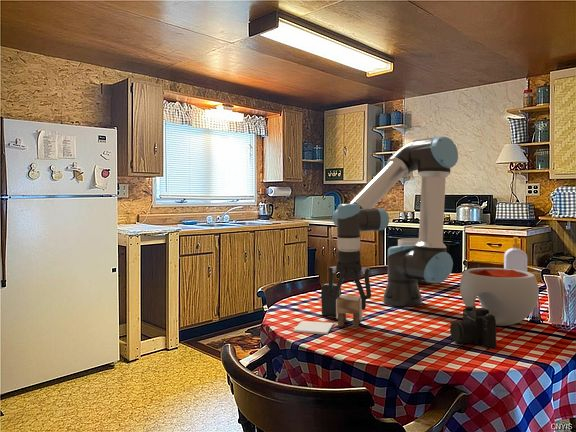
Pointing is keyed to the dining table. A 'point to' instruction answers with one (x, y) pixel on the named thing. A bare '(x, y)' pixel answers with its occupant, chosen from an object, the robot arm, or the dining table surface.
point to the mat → (313, 327)
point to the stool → (348, 309)
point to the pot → (501, 292)
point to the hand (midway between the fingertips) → (349, 318)
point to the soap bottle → (515, 257)
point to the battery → (328, 300)
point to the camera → (475, 328)
